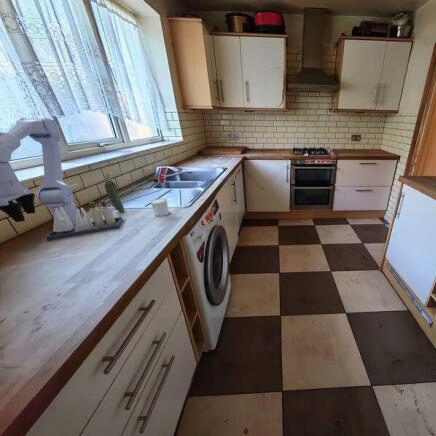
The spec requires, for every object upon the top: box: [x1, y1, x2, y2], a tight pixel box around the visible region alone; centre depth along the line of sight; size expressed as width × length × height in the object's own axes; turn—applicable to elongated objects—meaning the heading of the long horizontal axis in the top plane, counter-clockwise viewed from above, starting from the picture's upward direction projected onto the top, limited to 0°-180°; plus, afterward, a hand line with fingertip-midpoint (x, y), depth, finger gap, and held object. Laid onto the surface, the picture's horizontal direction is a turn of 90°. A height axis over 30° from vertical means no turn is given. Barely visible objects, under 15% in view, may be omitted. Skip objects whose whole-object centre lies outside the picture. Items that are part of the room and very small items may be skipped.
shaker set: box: [53, 207, 95, 232], centre depth 92 cm, size 12×4×11 cm, turn 108°
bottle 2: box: [100, 200, 117, 226], centre depth 96 cm, size 3×3×11 cm
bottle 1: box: [89, 201, 106, 228], centre depth 95 cm, size 3×3×11 cm
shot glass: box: [150, 198, 169, 217], centre depth 109 cm, size 7×7×7 cm
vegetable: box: [104, 171, 125, 213], centre depth 108 cm, size 4×4×20 cm
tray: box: [45, 216, 124, 241], centre depth 95 cm, size 9×23×2 cm, turn 115°
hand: (26, 217), depth 83 cm, fingers open, 7 cm apart
